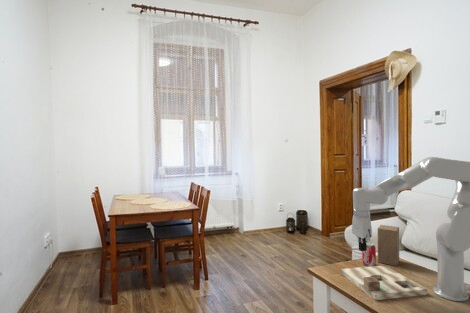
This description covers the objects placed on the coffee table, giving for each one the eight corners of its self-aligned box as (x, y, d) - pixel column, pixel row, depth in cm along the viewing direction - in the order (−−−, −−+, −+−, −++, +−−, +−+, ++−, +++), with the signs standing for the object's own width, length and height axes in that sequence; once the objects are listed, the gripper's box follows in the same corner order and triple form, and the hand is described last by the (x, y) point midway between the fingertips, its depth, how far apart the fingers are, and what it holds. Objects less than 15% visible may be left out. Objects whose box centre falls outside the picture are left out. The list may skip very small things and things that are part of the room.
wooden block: (380, 257, 176) (380, 224, 175) (399, 260, 170) (399, 226, 169) (377, 262, 167) (377, 228, 167) (397, 266, 162) (397, 230, 161)
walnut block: (374, 285, 133) (374, 277, 133) (379, 290, 128) (379, 281, 128) (363, 285, 133) (363, 277, 133) (368, 290, 128) (368, 282, 128)
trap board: (384, 269, 157) (384, 265, 157) (427, 294, 129) (427, 289, 129) (340, 273, 153) (340, 269, 153) (374, 300, 125) (374, 294, 125)
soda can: (377, 267, 160) (377, 246, 160) (363, 266, 161) (363, 245, 161) (374, 262, 167) (373, 242, 167) (360, 262, 168) (360, 241, 168)
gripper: (346, 210, 149) (347, 246, 149) (363, 216, 134) (365, 256, 134) (359, 210, 150) (360, 245, 150) (378, 215, 135) (379, 254, 135)
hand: (362, 250), depth 142 cm, fingers closed
